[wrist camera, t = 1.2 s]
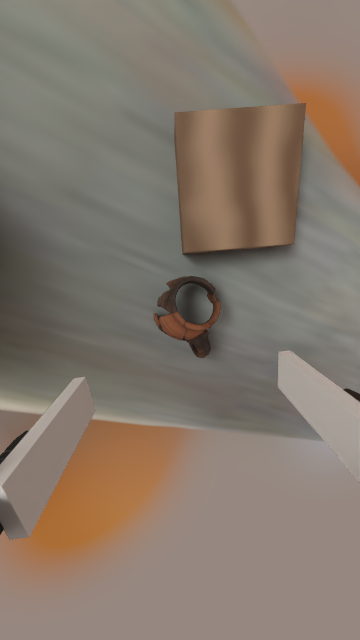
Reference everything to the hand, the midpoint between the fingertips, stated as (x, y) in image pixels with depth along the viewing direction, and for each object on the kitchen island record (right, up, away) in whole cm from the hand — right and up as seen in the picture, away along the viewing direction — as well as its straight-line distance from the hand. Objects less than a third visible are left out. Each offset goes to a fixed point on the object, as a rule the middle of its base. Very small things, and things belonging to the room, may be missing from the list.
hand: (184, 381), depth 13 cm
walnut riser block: (+7, +21, +14) cm, 26 cm away
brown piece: (0, +4, +20) cm, 20 cm away
